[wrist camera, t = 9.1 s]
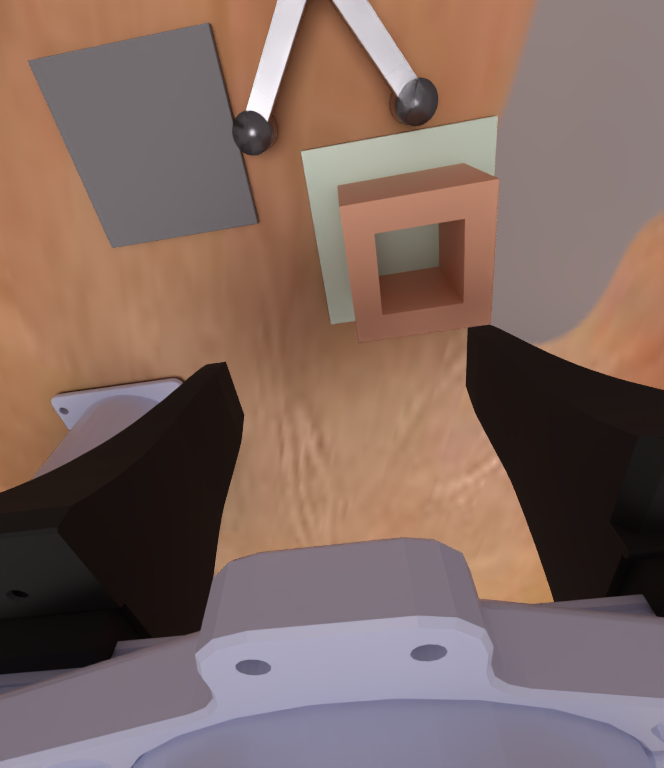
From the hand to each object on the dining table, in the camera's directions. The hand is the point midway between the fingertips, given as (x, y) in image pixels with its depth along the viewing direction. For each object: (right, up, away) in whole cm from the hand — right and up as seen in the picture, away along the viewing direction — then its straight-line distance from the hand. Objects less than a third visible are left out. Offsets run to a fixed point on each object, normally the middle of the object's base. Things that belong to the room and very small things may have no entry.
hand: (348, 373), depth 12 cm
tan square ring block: (+3, +6, +7) cm, 10 cm away
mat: (-8, +10, +5) cm, 13 cm away
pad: (+3, +7, +7) cm, 10 cm away
